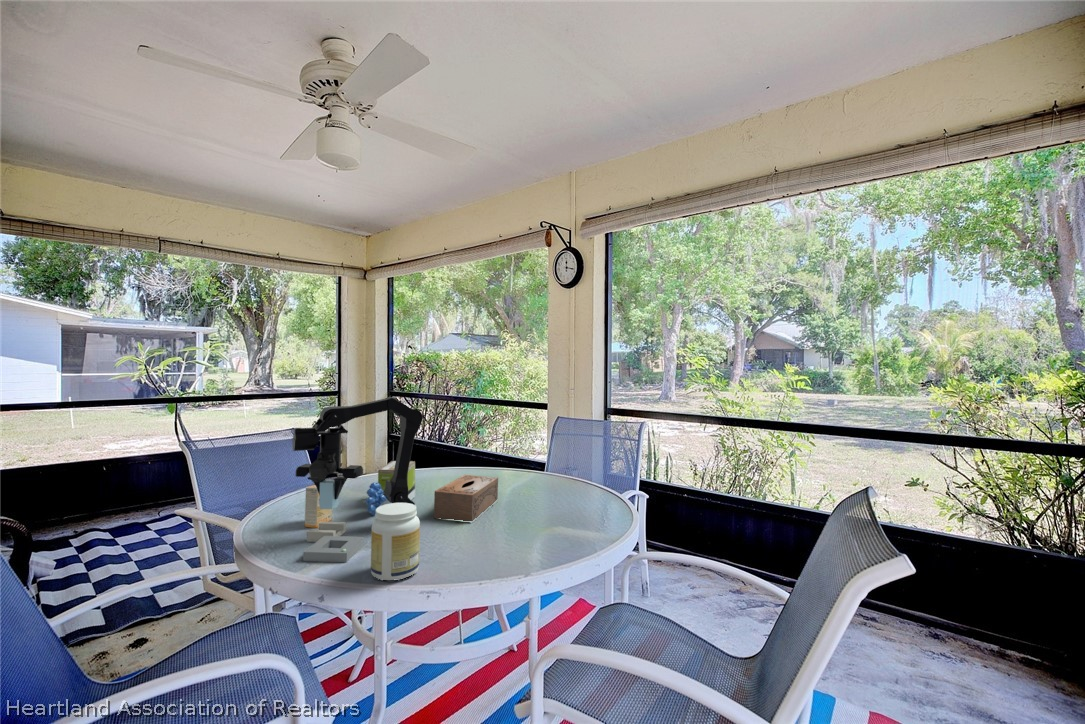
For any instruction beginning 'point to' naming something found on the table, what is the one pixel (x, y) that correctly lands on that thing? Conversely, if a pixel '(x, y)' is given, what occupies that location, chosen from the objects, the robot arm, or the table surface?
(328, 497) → the plug
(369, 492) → the grapes
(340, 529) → the grey square frame
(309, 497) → the supplement box
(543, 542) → the table surface
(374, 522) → the supplement tub
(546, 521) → the table surface
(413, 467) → the tea box
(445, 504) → the tissue box cover
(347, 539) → the socket
